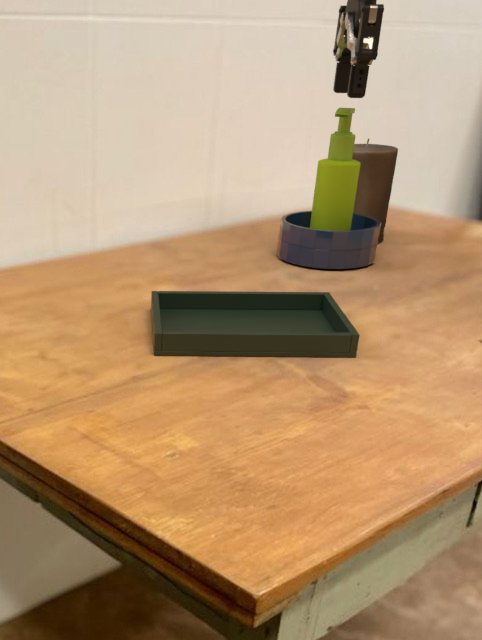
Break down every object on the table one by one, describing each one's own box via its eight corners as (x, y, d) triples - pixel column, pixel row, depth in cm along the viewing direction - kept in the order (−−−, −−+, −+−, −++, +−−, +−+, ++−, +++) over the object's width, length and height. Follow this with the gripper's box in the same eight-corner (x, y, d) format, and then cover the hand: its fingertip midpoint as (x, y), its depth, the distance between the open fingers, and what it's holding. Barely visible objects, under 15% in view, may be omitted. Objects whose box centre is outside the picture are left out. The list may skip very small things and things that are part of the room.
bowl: (361, 247, 128) (367, 210, 125) (385, 271, 116) (392, 231, 113) (271, 246, 128) (274, 210, 125) (285, 270, 116) (290, 231, 113)
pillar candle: (395, 242, 131) (414, 140, 123) (347, 248, 128) (363, 144, 120) (356, 229, 139) (371, 133, 131) (309, 235, 135) (322, 136, 127)
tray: (326, 312, 100) (329, 292, 99) (356, 357, 87) (359, 334, 86) (150, 310, 101) (151, 290, 99) (153, 355, 87) (154, 333, 86)
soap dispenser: (301, 259, 120) (320, 109, 110) (310, 249, 126) (329, 104, 115) (341, 263, 118) (364, 110, 108) (349, 253, 124) (371, 106, 113)
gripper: (415, -54, 96) (389, 100, 105) (383, -47, 108) (362, 91, 117) (352, -54, 96) (331, 99, 105) (327, -47, 108) (310, 91, 117)
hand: (348, 95), depth 111 cm, fingers open, 8 cm apart
